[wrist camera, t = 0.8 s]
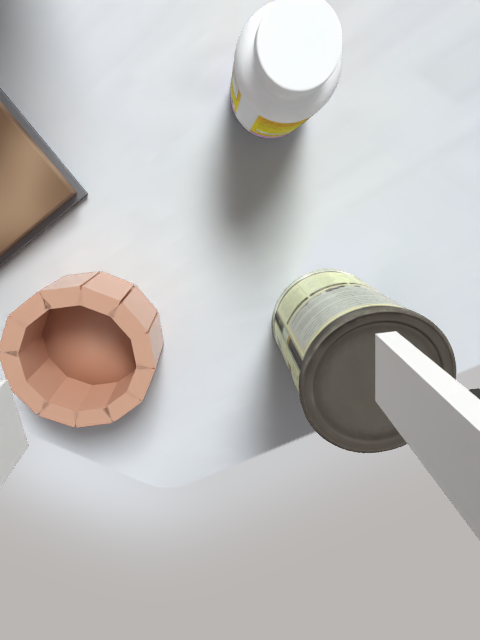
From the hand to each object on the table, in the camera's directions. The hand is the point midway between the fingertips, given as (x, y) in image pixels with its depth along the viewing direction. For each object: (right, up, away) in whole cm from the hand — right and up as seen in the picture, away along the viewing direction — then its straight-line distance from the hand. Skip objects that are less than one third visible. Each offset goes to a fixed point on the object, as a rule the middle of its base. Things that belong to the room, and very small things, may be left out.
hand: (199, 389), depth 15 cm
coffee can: (+10, +3, +26) cm, 28 cm away
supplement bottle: (+4, +21, +20) cm, 29 cm away
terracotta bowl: (-12, +1, +25) cm, 27 cm away
